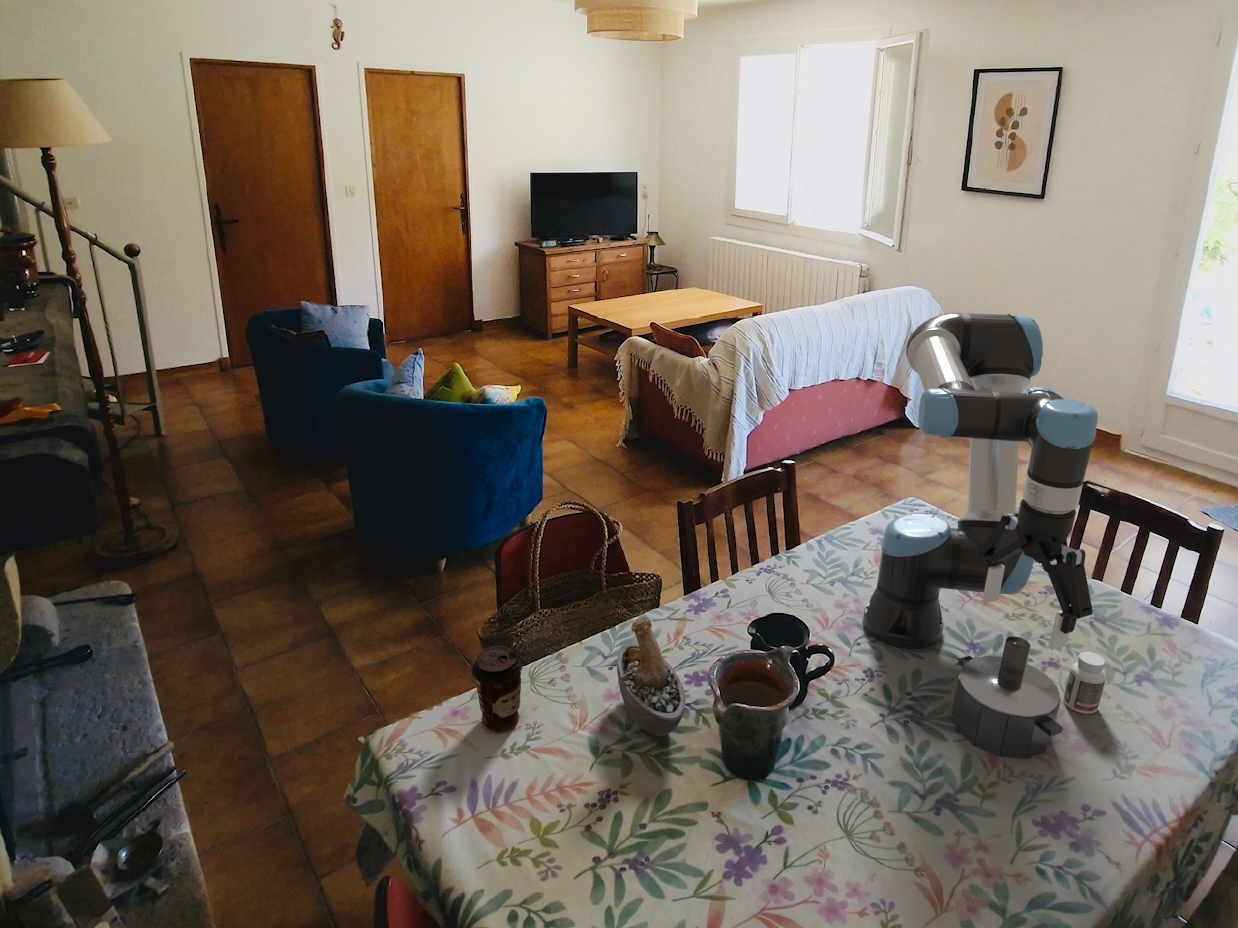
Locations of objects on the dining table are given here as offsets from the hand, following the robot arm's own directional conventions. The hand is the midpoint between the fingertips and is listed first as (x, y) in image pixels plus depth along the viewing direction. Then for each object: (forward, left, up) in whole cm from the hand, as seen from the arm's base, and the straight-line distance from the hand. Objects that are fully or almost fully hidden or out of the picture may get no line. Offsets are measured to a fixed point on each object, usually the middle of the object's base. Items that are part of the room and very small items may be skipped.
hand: (1022, 622), depth 134 cm
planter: (-24, -54, -21) cm, 63 cm away
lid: (0, 0, -13) cm, 13 cm away
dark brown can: (-33, -78, -21) cm, 87 cm away
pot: (0, 0, -20) cm, 20 cm away
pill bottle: (+1, +17, -21) cm, 27 cm away
